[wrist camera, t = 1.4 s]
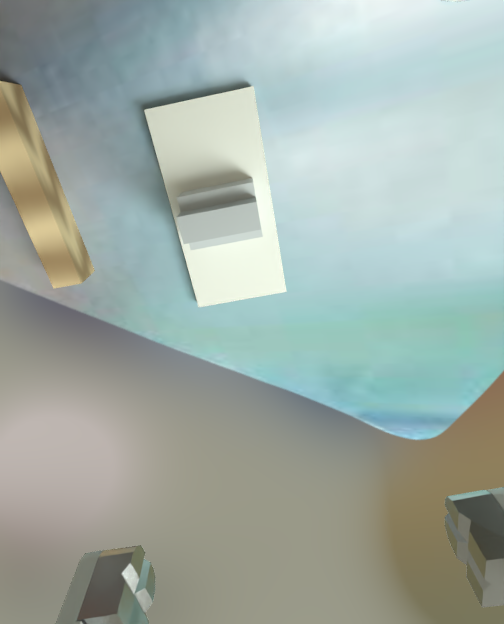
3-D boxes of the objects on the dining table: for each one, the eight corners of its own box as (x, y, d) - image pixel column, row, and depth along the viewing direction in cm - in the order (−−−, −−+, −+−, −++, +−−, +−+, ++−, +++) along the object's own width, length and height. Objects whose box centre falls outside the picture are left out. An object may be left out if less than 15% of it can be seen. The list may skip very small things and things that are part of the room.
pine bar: (-8, 92, 34) (-38, 88, 31) (22, 85, 34) (-4, 80, 31) (70, 274, 42) (53, 288, 39) (95, 270, 42) (81, 283, 38)
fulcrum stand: (147, 110, 35) (125, 106, 29) (253, 87, 34) (255, 78, 28) (199, 302, 44) (192, 332, 37) (285, 287, 43) (292, 314, 37)
